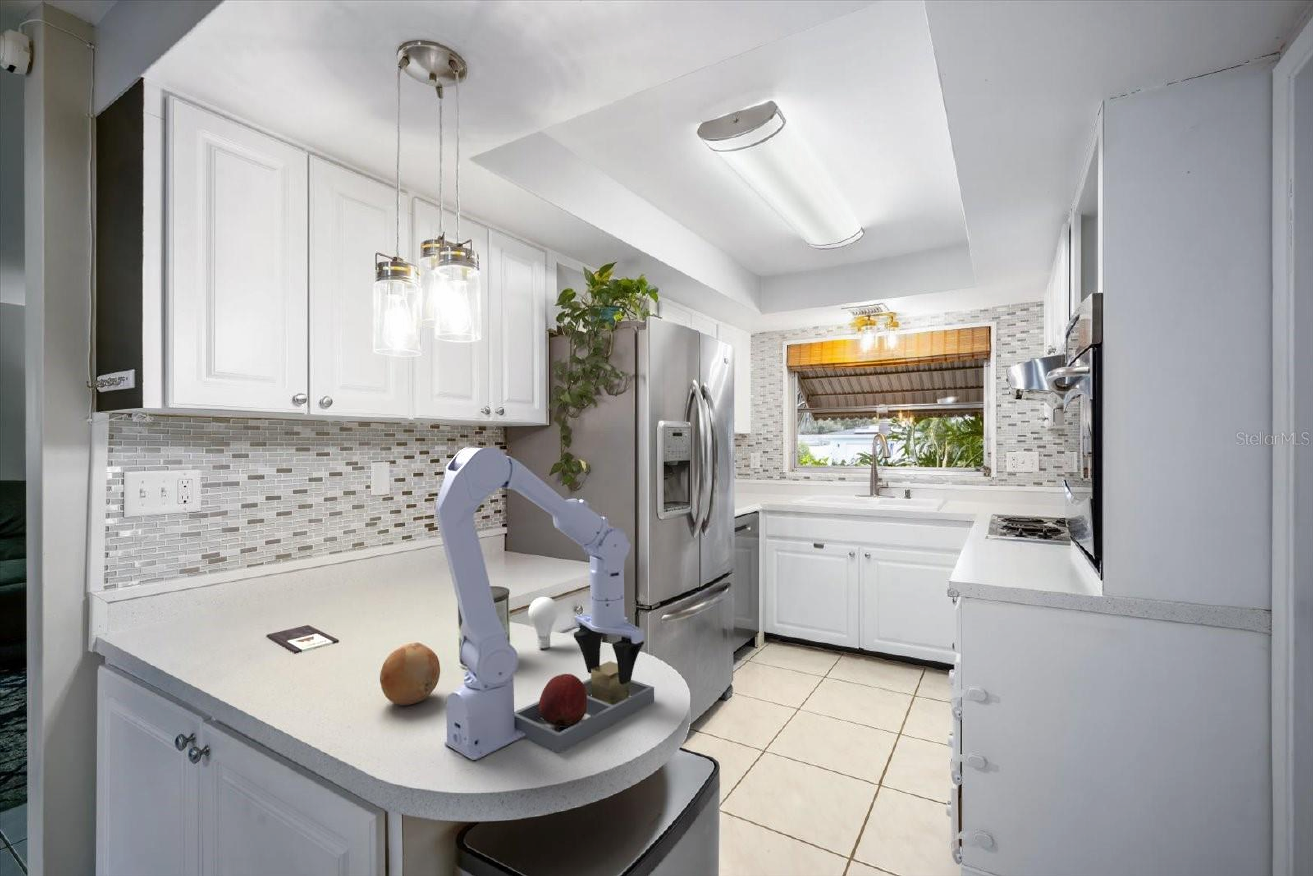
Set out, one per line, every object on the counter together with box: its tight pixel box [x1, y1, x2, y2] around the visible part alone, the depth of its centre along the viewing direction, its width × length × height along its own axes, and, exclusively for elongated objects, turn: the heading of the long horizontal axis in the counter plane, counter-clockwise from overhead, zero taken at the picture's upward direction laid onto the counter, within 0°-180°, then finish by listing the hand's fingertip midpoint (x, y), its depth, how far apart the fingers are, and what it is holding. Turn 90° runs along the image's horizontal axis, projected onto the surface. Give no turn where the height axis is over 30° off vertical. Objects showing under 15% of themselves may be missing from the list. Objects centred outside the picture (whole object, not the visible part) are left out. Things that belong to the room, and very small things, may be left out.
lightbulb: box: [527, 596, 559, 650], centre depth 131 cm, size 6×6×11 cm
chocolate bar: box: [265, 624, 340, 655], centre depth 140 cm, size 9×1×18 cm
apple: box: [539, 673, 587, 731], centre depth 95 cm, size 7×8×8 cm
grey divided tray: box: [514, 677, 655, 754], centre depth 99 cm, size 21×11×2 cm, turn 140°
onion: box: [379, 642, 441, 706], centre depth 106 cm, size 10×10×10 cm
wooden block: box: [590, 660, 630, 705], centre depth 103 cm, size 4×4×6 cm
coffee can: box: [457, 585, 511, 670], centre depth 124 cm, size 10×10×14 cm
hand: (608, 676), depth 103 cm, fingers open, 7 cm apart
